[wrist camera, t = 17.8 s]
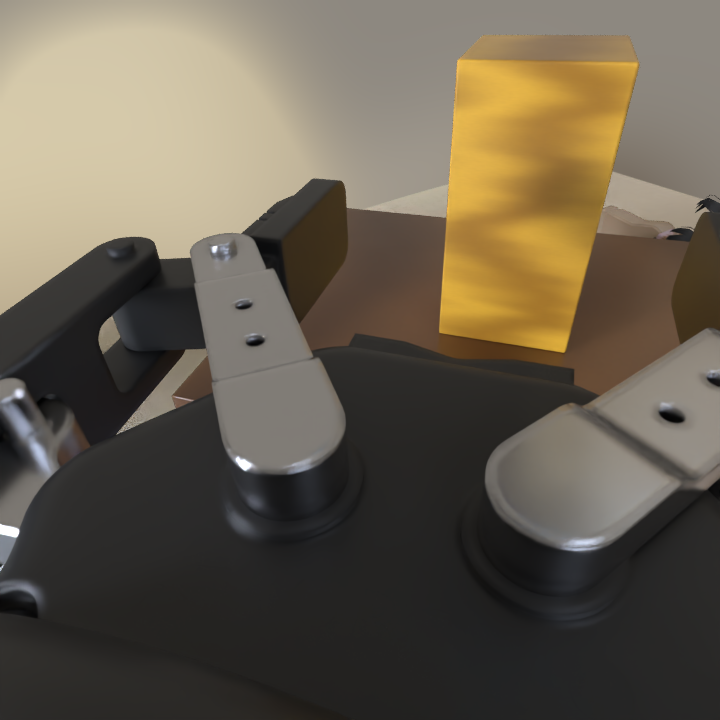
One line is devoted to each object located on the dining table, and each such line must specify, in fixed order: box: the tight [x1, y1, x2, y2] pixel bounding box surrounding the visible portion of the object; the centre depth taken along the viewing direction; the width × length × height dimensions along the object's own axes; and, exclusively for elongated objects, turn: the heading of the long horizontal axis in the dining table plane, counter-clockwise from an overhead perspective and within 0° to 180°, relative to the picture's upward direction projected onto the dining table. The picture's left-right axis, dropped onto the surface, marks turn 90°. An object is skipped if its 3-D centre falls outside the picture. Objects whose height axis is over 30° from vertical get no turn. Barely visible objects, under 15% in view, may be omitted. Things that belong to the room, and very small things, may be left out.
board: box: [172, 208, 690, 408], centre depth 24 cm, size 22×18×2 cm
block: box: [439, 35, 639, 353], centre depth 20 cm, size 5×5×10 cm
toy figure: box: [597, 198, 720, 242], centre depth 40 cm, size 7×6×15 cm
